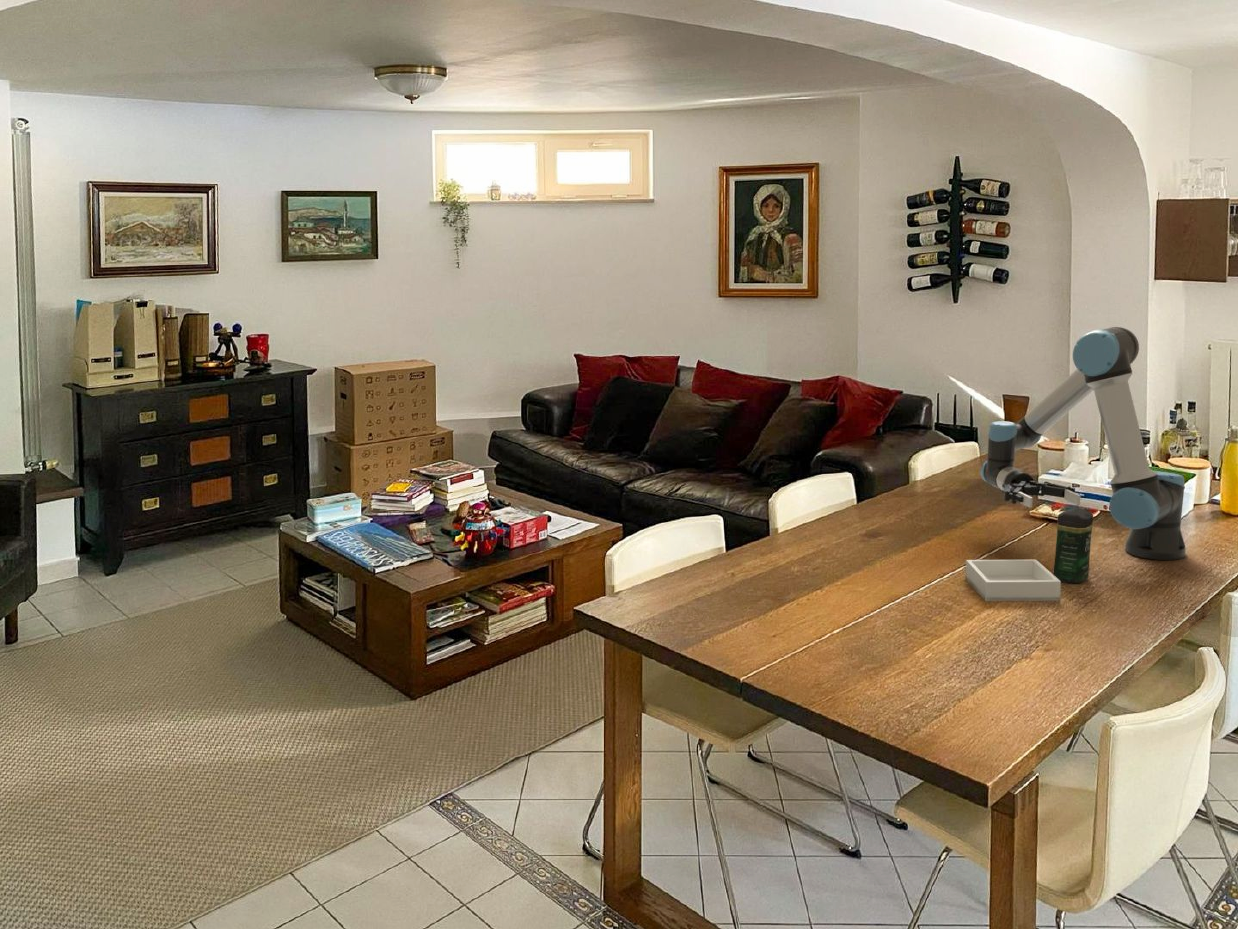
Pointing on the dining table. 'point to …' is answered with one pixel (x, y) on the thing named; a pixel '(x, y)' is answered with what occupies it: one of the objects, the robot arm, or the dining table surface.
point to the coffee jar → (1073, 545)
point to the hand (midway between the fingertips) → (1055, 501)
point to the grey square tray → (1012, 580)
